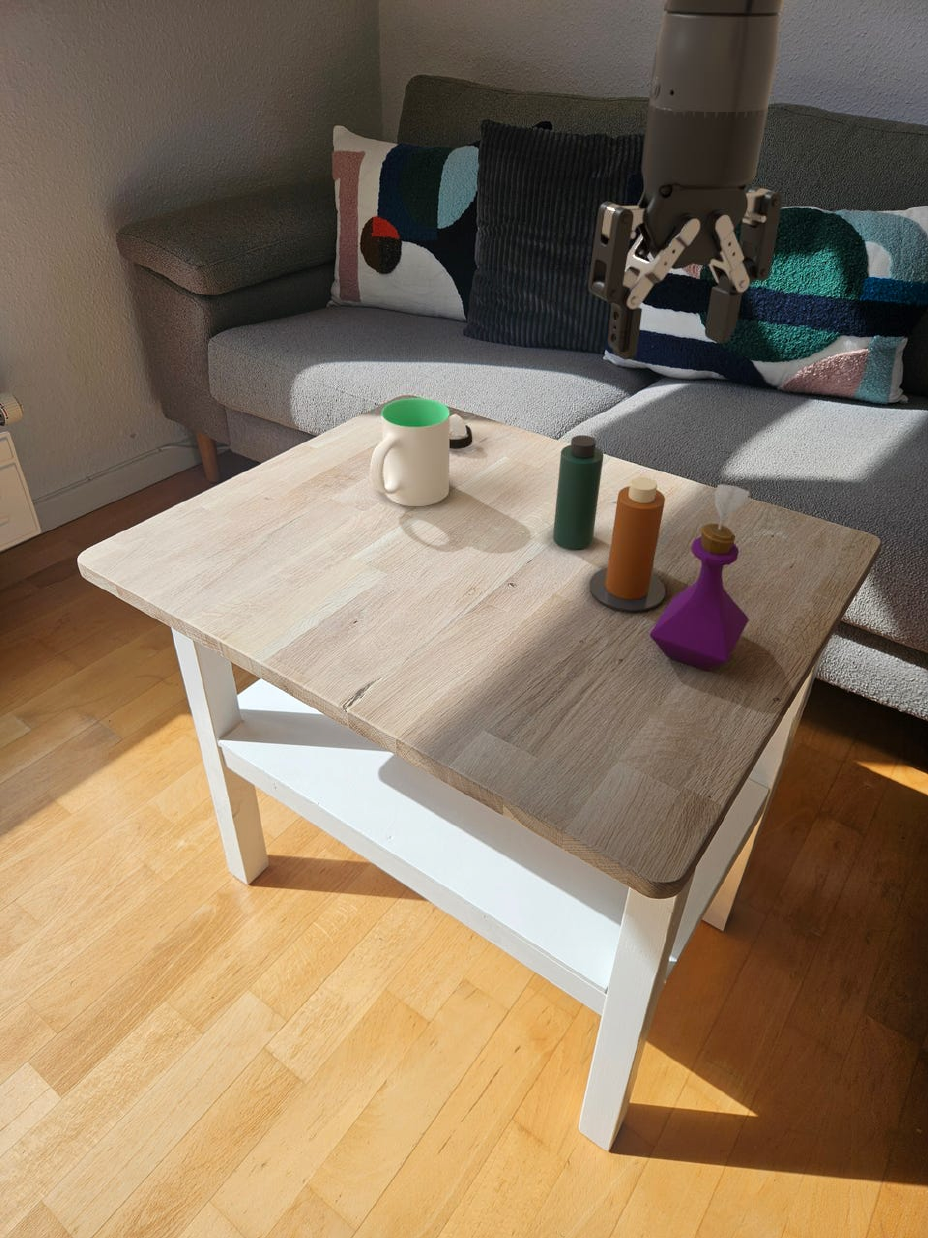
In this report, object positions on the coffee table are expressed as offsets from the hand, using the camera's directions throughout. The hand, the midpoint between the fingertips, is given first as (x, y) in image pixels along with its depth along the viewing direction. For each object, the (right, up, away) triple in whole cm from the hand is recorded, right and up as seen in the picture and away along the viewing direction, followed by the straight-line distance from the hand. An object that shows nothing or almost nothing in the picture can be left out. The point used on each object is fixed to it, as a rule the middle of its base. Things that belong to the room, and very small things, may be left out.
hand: (671, 347), depth 65 cm
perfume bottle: (+7, -24, +19) cm, 32 cm away
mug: (-23, -5, +42) cm, 48 cm away
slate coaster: (+2, -17, +27) cm, 33 cm away
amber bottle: (+2, -17, +27) cm, 32 cm away
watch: (-18, +4, +55) cm, 57 cm away
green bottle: (-3, -11, +35) cm, 37 cm away
